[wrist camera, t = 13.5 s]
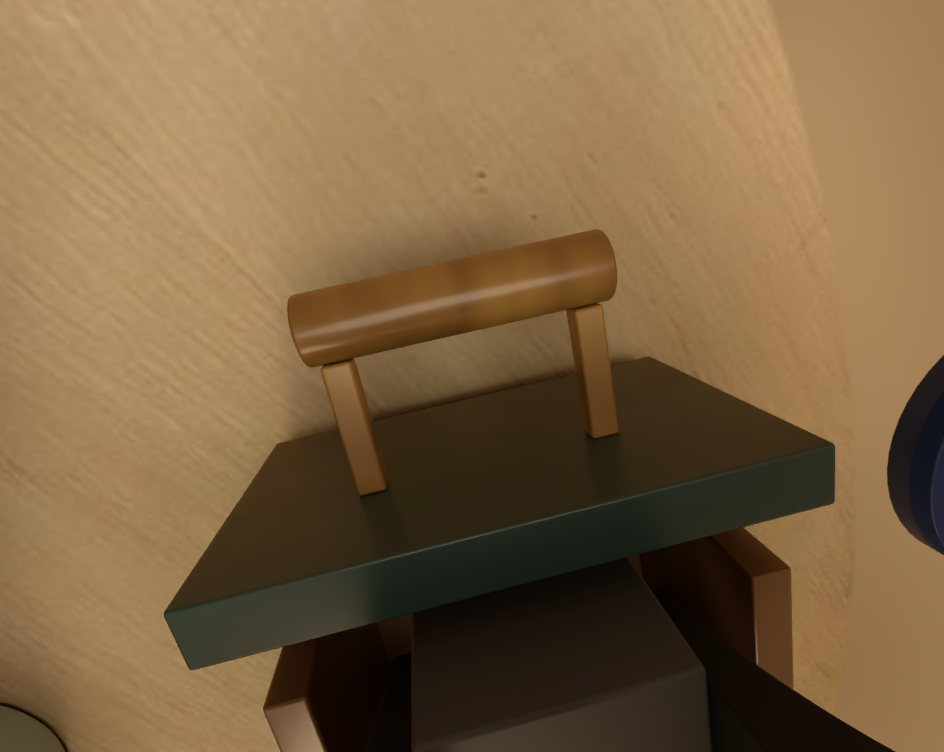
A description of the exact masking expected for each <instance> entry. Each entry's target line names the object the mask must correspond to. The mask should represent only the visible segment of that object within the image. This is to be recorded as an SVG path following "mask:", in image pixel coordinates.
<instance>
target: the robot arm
mask: <svg viewBox="0 0 944 752" xmlns="http://www.w3.org/2000/svg"><path fill="white" fill-rule="evenodd" d="M651 591H652V592H653V594H654V595H655V597H656V598H657V600H658V601H659V603H660V604H661V605H662V607H663V608H664V610H665V611H666V613H667V614H668V616H669V617H670V618H671V620H672V621H673V623H674V624H675V626H676V627H677V629H678V630H679V631H680V633H681V634H682V636H683V637H684V639H685V640H686V642H687V643H688V644H689V646H690V647H691V649H692V650H693V652H694V653H695V655H696V656H697V658H698V659H699V660H700V662H701V663H702V665H703V666H704V668H705V671H706V680H707V692H708V703H709V715H710V726H711V738H712V750H713V752H895V751H893V750H891V749H890V748H888V747H886V746H884V745H882V744H880V743H879V742H877V741H875V740H873V739H872V738H870V737H868V736H867V735H865V734H863V733H862V732H860V731H858V730H856V729H855V728H853V727H851V726H850V725H848V724H846V723H845V722H843V721H841V720H840V719H838V718H836V717H835V716H833V715H832V714H830V713H828V712H827V711H825V710H824V709H822V708H820V707H819V706H817V705H816V704H814V703H813V702H811V701H810V700H808V699H806V698H805V697H803V696H802V695H800V694H799V693H797V692H796V691H794V690H793V689H791V688H790V687H788V686H787V685H785V684H784V683H782V682H781V681H780V680H778V679H777V678H775V677H774V676H772V675H771V674H769V673H768V672H767V671H765V670H764V669H762V668H761V667H759V666H758V665H757V664H755V663H754V662H752V661H751V660H750V659H748V658H747V657H746V656H744V655H743V654H742V653H740V652H739V651H737V650H736V649H735V648H733V647H732V646H731V645H729V644H728V643H727V642H725V641H724V640H723V639H721V638H720V637H719V636H717V635H716V634H715V633H713V632H712V631H711V630H710V629H708V628H707V627H706V626H705V625H703V624H702V623H701V622H699V621H698V620H697V619H696V618H694V617H693V616H692V615H691V614H689V613H688V612H687V611H686V610H684V609H683V608H682V607H681V606H679V605H678V604H677V603H676V602H675V601H673V600H672V599H671V598H670V597H669V596H667V595H666V594H665V593H664V592H662V591H661V590H659V589H658V588H653V589H651ZM363 752H412V751H411V653H407V654H404V655H400V656H396V657H395V659H394V660H393V661H392V664H391V667H390V671H389V675H388V678H387V682H386V685H385V689H384V692H383V695H382V698H381V701H380V704H379V707H378V710H377V713H376V716H375V719H374V722H373V725H372V728H371V731H370V733H369V736H368V739H367V742H366V744H365V747H364V750H363Z"/></svg>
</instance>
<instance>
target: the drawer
mask: <svg viewBox="0 0 944 752" xmlns="http://www.w3.org/2000/svg"><path fill="white" fill-rule="evenodd" d="M616 285H617V268H616V261H615V256H614V252H613V249H612V246H611V243H610V241H609V239H608V238H607V236H606V235H605V233H604V232H603V231H601V230H598V229H595V230H590V231H585V232H581V233H576V234H572V235H567V236H562V237H558V238H553V239H549V240H544V241H539V242H535V243H530V244H526V245H521V246H516V247H512V248H507V249H503V250H498V251H493V252H489V253H484V254H480V255H475V256H470V257H466V258H461V259H457V260H452V261H447V262H443V263H438V264H434V265H429V266H424V267H420V268H415V269H411V270H406V271H401V272H397V273H392V274H388V275H383V276H378V277H374V278H369V279H364V280H360V281H355V282H351V283H346V284H341V285H337V286H332V287H328V288H323V289H318V290H314V291H309V292H305V293H300V294H295V295H292V296H291V297H289V299H288V306H287V312H288V321H289V326H290V330H291V334H292V338H293V341H294V344H295V346H296V349H297V351H298V353H299V355H300V357H301V358H302V360H303V362H304V363H305V364H306V365H307V366H308V367H317V366H321V365H323V366H322V368H321V374H322V377H323V380H324V384H325V387H326V390H327V393H328V397H329V400H330V403H331V406H332V410H333V413H334V416H335V419H336V423H337V426H338V430H334V431H330V432H325V433H321V434H317V435H313V436H308V437H304V438H300V439H296V440H291V441H287V442H283V443H279V444H277V445H276V446H275V448H274V449H273V451H272V452H271V454H270V455H269V457H268V458H267V460H266V461H265V463H264V464H263V466H262V467H261V469H260V470H259V472H258V473H257V475H256V476H255V478H254V479H253V481H252V482H251V484H250V485H249V487H248V488H247V490H246V491H245V493H244V494H243V496H242V497H241V499H240V500H239V501H238V503H237V504H236V506H235V507H234V509H233V510H232V512H231V513H230V515H229V516H228V518H227V519H226V521H225V522H224V524H223V525H222V527H221V528H220V530H219V531H218V533H217V534H216V536H215V537H214V539H213V540H212V542H211V543H210V545H209V546H208V548H207V549H206V551H205V552H204V554H203V555H202V557H201V558H200V560H199V561H198V563H197V564H196V566H195V567H194V569H193V570H192V571H191V573H190V574H189V576H188V577H187V579H186V580H185V582H184V583H183V585H182V586H181V588H180V589H179V591H178V592H177V594H176V595H175V597H174V598H173V600H172V601H171V603H170V604H169V606H168V607H167V609H166V610H165V612H164V617H165V619H166V621H167V624H168V626H169V628H170V630H171V632H172V634H173V636H174V638H175V640H176V643H177V645H178V647H179V649H180V651H181V653H182V655H183V657H184V660H185V662H186V664H187V666H188V668H189V669H190V670H196V669H199V668H203V667H207V666H211V665H215V664H219V663H222V662H226V661H230V660H234V659H238V658H242V657H246V656H249V655H253V654H257V653H261V652H265V651H269V650H272V649H276V648H280V647H282V651H281V654H280V657H279V660H278V663H277V666H276V669H275V672H274V676H273V679H272V682H271V685H270V688H269V691H268V694H267V698H266V701H265V704H264V707H263V710H264V713H265V716H266V718H267V720H268V723H269V725H270V727H271V730H272V732H273V734H274V737H275V739H276V741H277V744H278V746H279V748H280V751H281V752H363V750H364V747H365V744H366V742H367V739H368V736H369V733H370V731H371V728H372V725H373V722H374V719H375V716H376V713H377V710H378V707H379V704H380V701H381V698H382V695H383V692H384V689H385V685H386V682H387V678H388V675H389V671H390V667H391V664H392V661H393V660H394V659H395V657H396V656H400V655H404V654H407V653H411V613H415V612H419V611H422V610H426V609H430V608H434V607H438V606H442V605H446V604H449V603H453V602H457V601H461V600H465V599H469V598H472V597H476V596H480V595H484V594H488V593H492V592H496V591H499V590H503V589H507V588H511V587H515V586H519V585H522V584H526V583H530V582H534V581H538V580H542V579H546V578H549V577H553V576H557V575H561V574H565V573H569V572H572V571H576V570H580V569H584V568H588V567H592V566H595V565H599V564H603V563H607V562H611V561H615V560H619V559H622V558H626V557H628V558H629V559H630V561H631V562H632V563H633V565H634V566H635V568H636V569H637V571H638V572H639V574H640V575H641V576H642V578H643V579H644V581H645V582H646V584H647V585H648V587H649V588H650V589H653V588H658V589H659V590H661V591H662V592H664V593H665V594H666V595H667V596H669V597H670V598H671V599H672V600H673V601H675V602H676V603H677V604H678V605H679V606H681V607H682V608H683V609H684V610H686V611H687V612H688V613H689V614H691V615H692V616H693V617H694V618H696V619H697V620H698V621H699V622H701V623H702V624H703V625H705V626H706V627H707V628H708V629H710V630H711V631H712V632H713V633H715V634H716V635H717V636H719V637H720V638H721V639H723V640H724V641H725V642H727V643H728V644H729V645H731V646H732V647H733V648H735V649H736V650H737V651H739V652H740V653H742V654H743V655H744V656H746V657H747V658H748V659H750V660H751V661H752V662H754V663H755V664H757V665H758V666H759V667H761V668H762V669H764V670H765V671H767V672H768V673H769V674H771V675H772V676H774V677H775V678H777V679H778V680H780V681H781V682H782V683H784V684H785V685H787V686H788V687H790V688H791V689H793V648H792V600H791V569H790V567H789V566H788V565H786V564H785V563H784V562H783V561H782V560H781V559H779V558H778V557H777V556H776V555H775V554H774V553H772V552H771V551H770V550H769V549H768V548H767V547H765V546H764V545H763V544H762V543H761V542H760V541H758V540H757V539H756V538H755V537H754V536H753V535H751V534H750V533H749V532H748V531H747V530H746V529H744V528H743V527H745V526H749V525H753V524H757V523H761V522H765V521H769V520H772V519H776V518H780V517H784V516H788V515H792V514H795V513H799V512H803V511H807V510H811V509H815V508H819V507H822V506H826V505H830V504H833V503H834V501H835V446H834V444H833V443H831V442H829V441H827V440H825V439H823V438H820V437H818V436H816V435H814V434H812V433H810V432H808V431H806V430H804V429H801V428H799V427H797V426H795V425H793V424H791V423H789V422H787V421H785V420H782V419H780V418H778V417H776V416H774V415H772V414H770V413H768V412H766V411H763V410H761V409H759V408H757V407H755V406H753V405H751V404H749V403H747V402H744V401H742V400H740V399H738V398H736V397H734V396H732V395H730V394H728V393H725V392H723V391H721V390H719V389H717V388H715V387H713V386H711V385H709V384H707V383H704V382H702V381H700V380H698V379H696V378H694V377H692V376H690V375H688V374H685V373H683V372H681V371H679V370H677V369H675V368H673V367H671V366H669V365H666V364H664V363H662V362H660V361H658V360H656V359H654V358H652V357H645V358H640V359H636V360H632V361H628V362H623V363H619V364H615V365H611V366H610V359H609V351H608V344H607V336H606V328H605V320H604V312H603V307H602V305H601V304H598V303H599V302H603V301H608V300H610V299H611V298H612V297H613V295H614V293H615V290H616ZM564 310H567V317H568V324H569V331H570V337H571V344H572V351H573V357H574V364H575V371H576V374H572V375H568V376H564V377H560V378H555V379H551V380H547V381H543V382H538V383H534V384H530V385H525V386H521V387H517V388H513V389H508V390H504V391H500V392H496V393H491V394H487V395H483V396H479V397H474V398H470V399H466V400H462V401H457V402H453V403H449V404H445V405H440V406H436V407H432V408H428V409H423V410H419V411H415V412H411V413H406V414H402V415H398V416H394V417H389V418H385V419H381V420H377V421H372V419H371V415H370V411H369V408H368V404H367V401H366V397H365V394H364V390H363V387H362V383H361V380H360V376H359V373H358V369H357V366H356V362H355V359H354V358H356V357H361V356H365V355H370V354H374V353H378V352H383V351H387V350H392V349H396V348H400V347H405V346H409V345H414V344H418V343H422V342H427V341H431V340H436V339H440V338H445V337H449V336H453V335H458V334H462V333H467V332H471V331H475V330H480V329H484V328H489V327H493V326H498V325H502V324H506V323H511V322H515V321H520V320H524V319H528V318H533V317H537V316H542V315H546V314H550V313H555V312H559V311H564Z"/></svg>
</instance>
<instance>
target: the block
mask: <svg viewBox="0 0 944 752" xmlns="http://www.w3.org/2000/svg"><path fill="white" fill-rule="evenodd" d="M411 751H412V752H713V750H712V738H711V726H710V715H709V703H708V692H707V680H706V671H705V668H704V666H703V665H702V663H701V662H700V660H699V659H698V658H697V656H696V655H695V653H694V652H693V650H692V649H691V647H690V646H689V644H688V643H687V642H686V640H685V639H684V637H683V636H682V634H681V633H680V631H679V630H678V629H677V627H676V626H675V624H674V623H673V621H672V620H671V618H670V617H669V616H668V614H667V613H666V611H665V610H664V608H663V607H662V605H661V604H660V603H659V601H658V600H657V598H656V597H655V595H654V594H653V592H652V591H651V589H650V588H649V587H648V585H647V584H646V582H645V581H644V579H643V578H642V576H641V575H640V574H639V572H638V571H637V569H636V568H635V566H634V565H633V563H632V562H631V561H630V559H629V558H628V557H626V558H622V559H619V560H615V561H611V562H607V563H603V564H599V565H595V566H592V567H588V568H584V569H580V570H576V571H572V572H569V573H565V574H561V575H557V576H553V577H549V578H546V579H542V580H538V581H534V582H530V583H526V584H522V585H519V586H515V587H511V588H507V589H503V590H499V591H496V592H492V593H488V594H484V595H480V596H476V597H472V598H469V599H465V600H461V601H457V602H453V603H449V604H446V605H442V606H438V607H434V608H430V609H426V610H422V611H419V612H415V613H411Z"/></svg>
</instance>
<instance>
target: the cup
mask: <svg viewBox="0 0 944 752" xmlns="http://www.w3.org/2000/svg"><path fill="white" fill-rule="evenodd" d="M0 752H65V750H64V748H63V746H62V744H61V743H60V741H59V739H58V738H57V737H56V736H55V735H54V734H53V733H52V731H51V730H50V729H48V728H47V727H46V726H45V725H44V724H42V723H41V722H39V721H38V720H36V719H34V718H33V717H31V716H29V715H27V714H25V713H23V712H20V711H18V710H15V709H12V708H9V707H5V706H1V705H0Z"/></svg>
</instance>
